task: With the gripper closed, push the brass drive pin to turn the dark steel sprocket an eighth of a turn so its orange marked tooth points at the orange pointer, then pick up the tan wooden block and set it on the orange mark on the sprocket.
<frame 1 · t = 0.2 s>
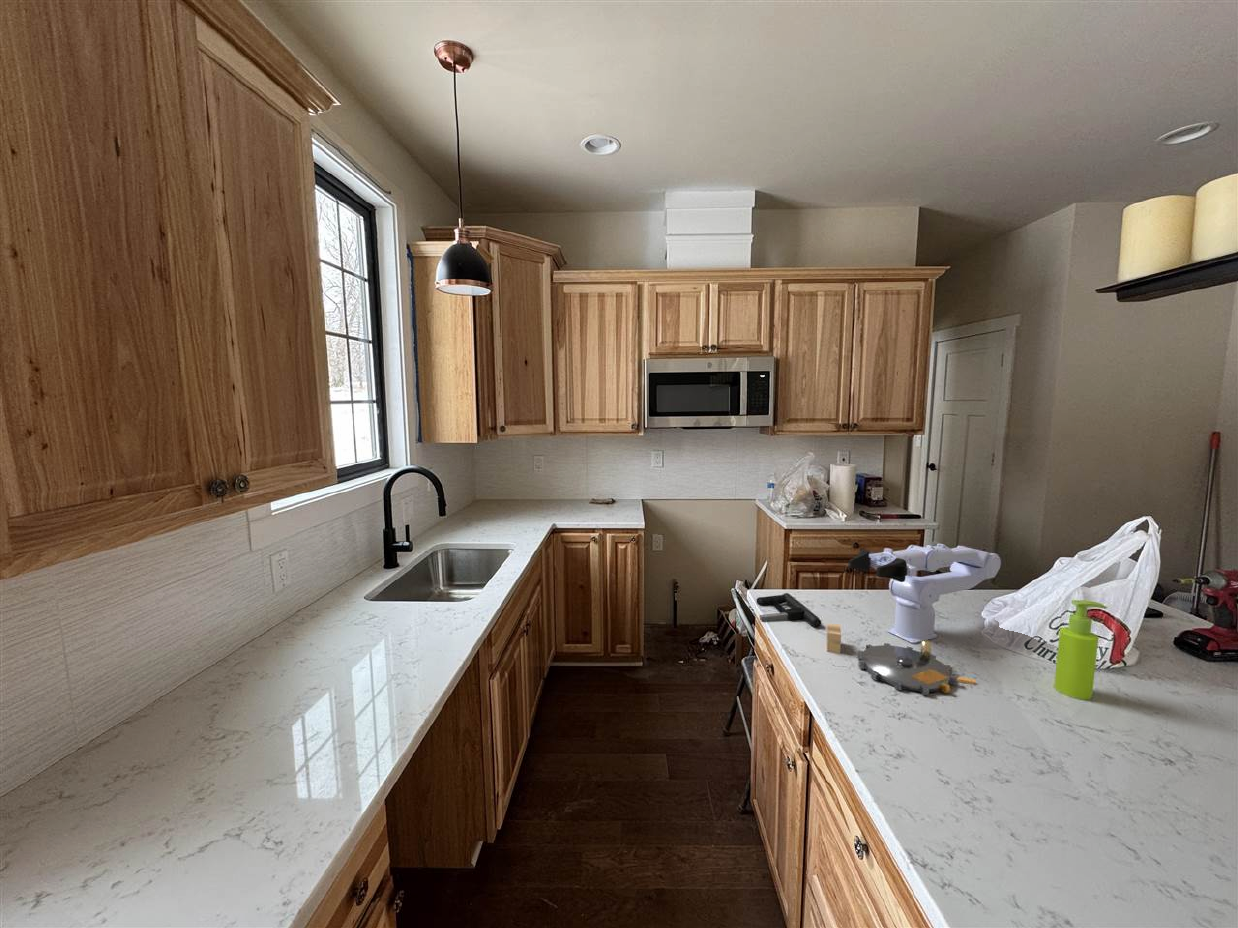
hand: (863, 568, 119), 21 cm above the countertop, tool horizontal, fingers open, 7 cm apart
submachine gun: (782, 616, 143), on the countertop
sprocket: (905, 658, 111), point 3 cm above the countertop, hinge at 0.0°
timing pointer: (966, 681, 107), on the countertop
soap dispenser: (1075, 692, 103), on the countertop
tan wooden block: (833, 647, 123), on the countertop
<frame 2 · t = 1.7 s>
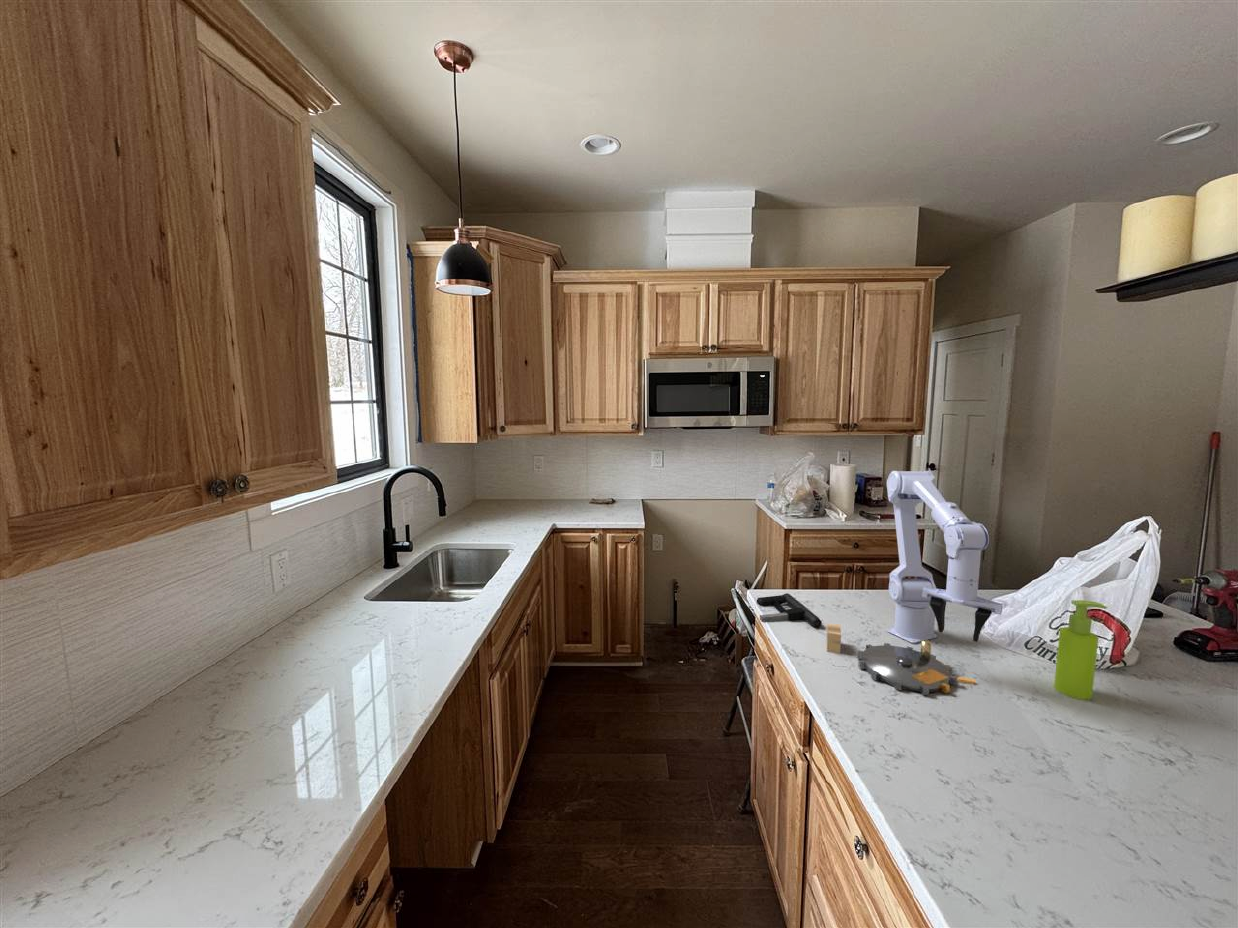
hand: (958, 635, 109), 9 cm above the countertop, tool pointing down, fingers open, 6 cm apart
nothing on the countertop moved.
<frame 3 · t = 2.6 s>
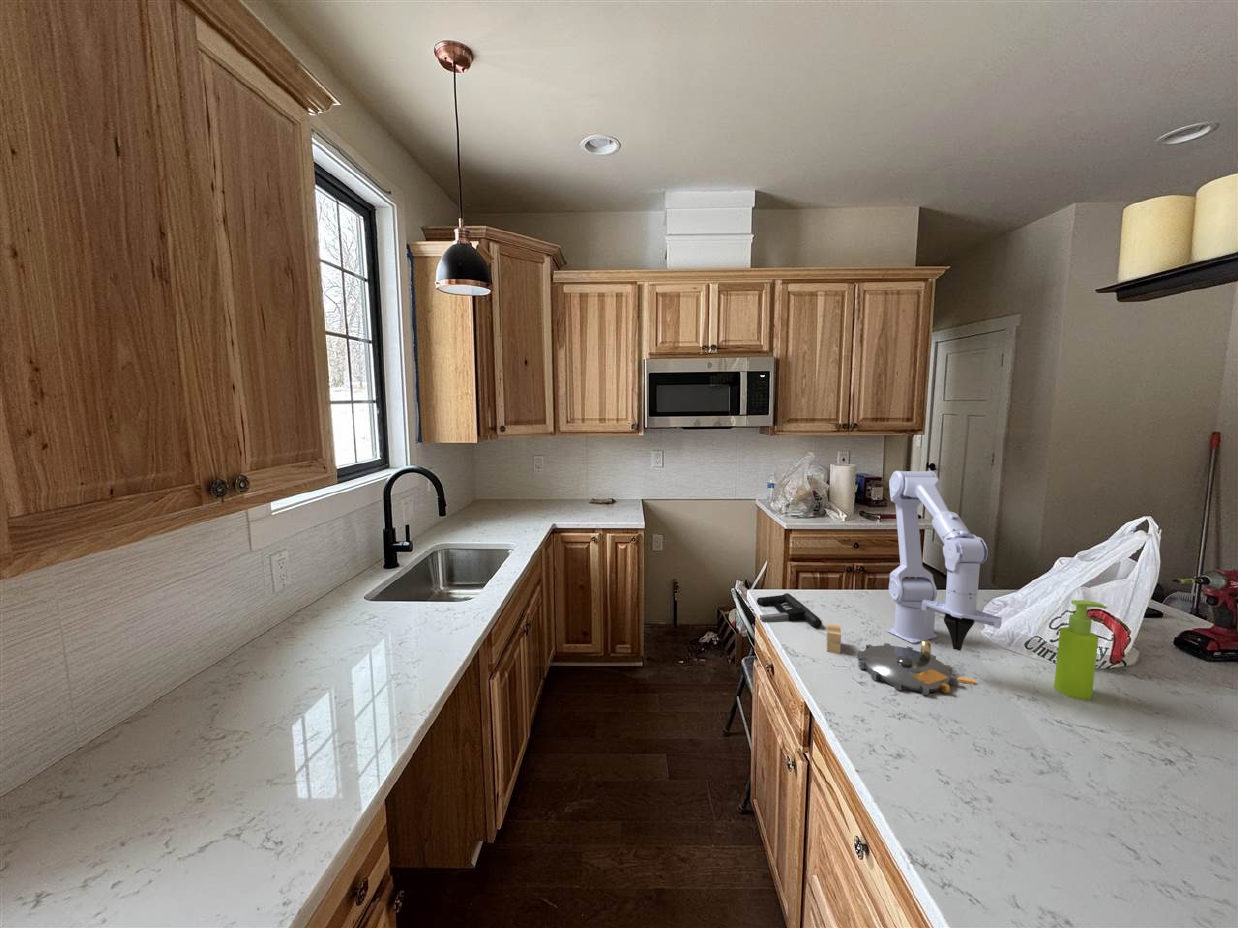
hand: (957, 648, 109), 6 cm above the countertop, tool pointing down, fingers closed
nothing on the countertop moved.
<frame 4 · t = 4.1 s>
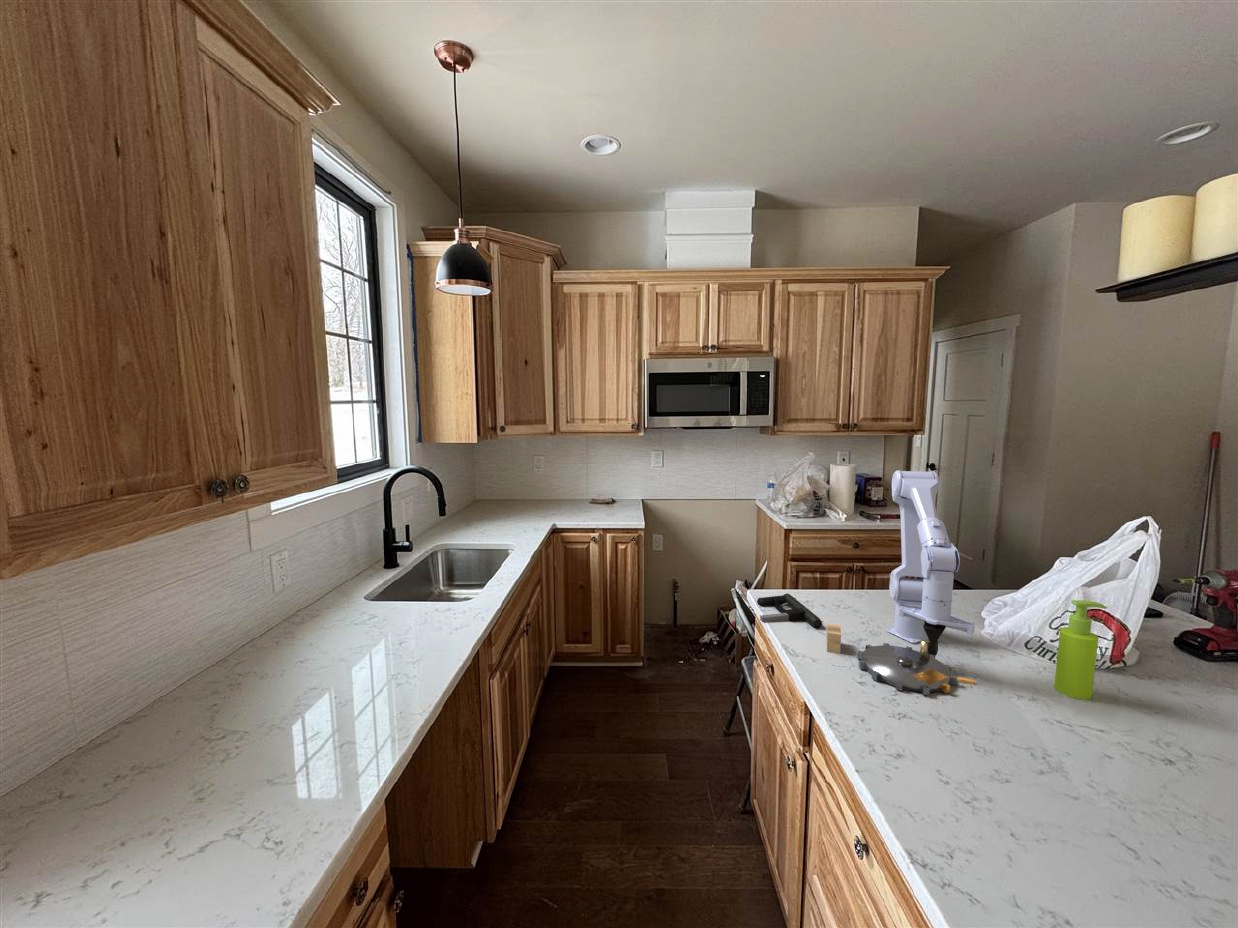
hand: (933, 653, 113), 3 cm above the countertop, tool pointing down, fingers closed, pressing on sprocket
sprocket: (905, 658, 111), point 3 cm above the countertop, hinge at 0.9°, touching gripper
everything else where it was.
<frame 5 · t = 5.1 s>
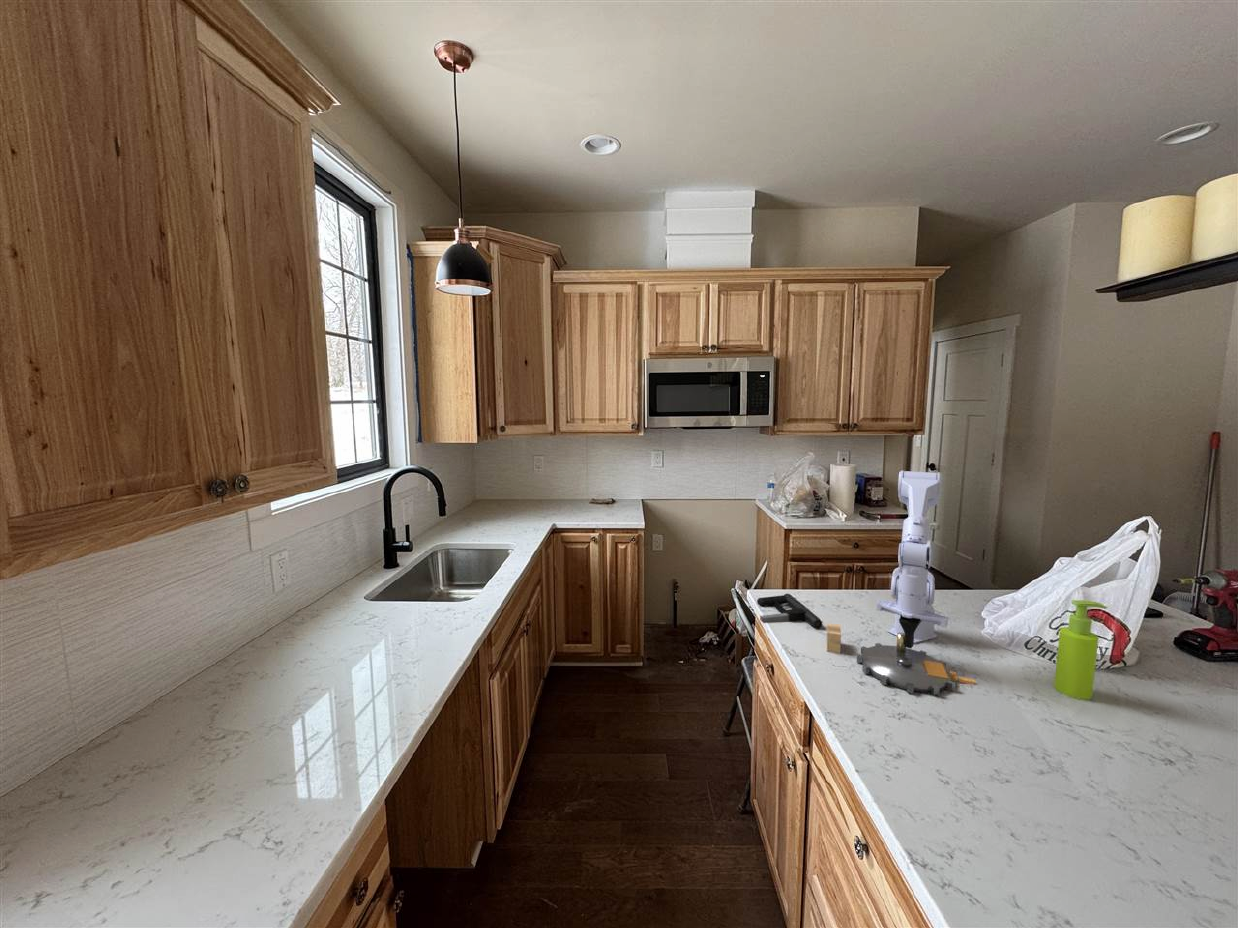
hand: (908, 646, 117), 3 cm above the countertop, tool pointing down, fingers closed, pressing on sprocket
sprocket: (905, 658, 111), point 3 cm above the countertop, hinge at 43.1°, touching gripper
everything else where it was.
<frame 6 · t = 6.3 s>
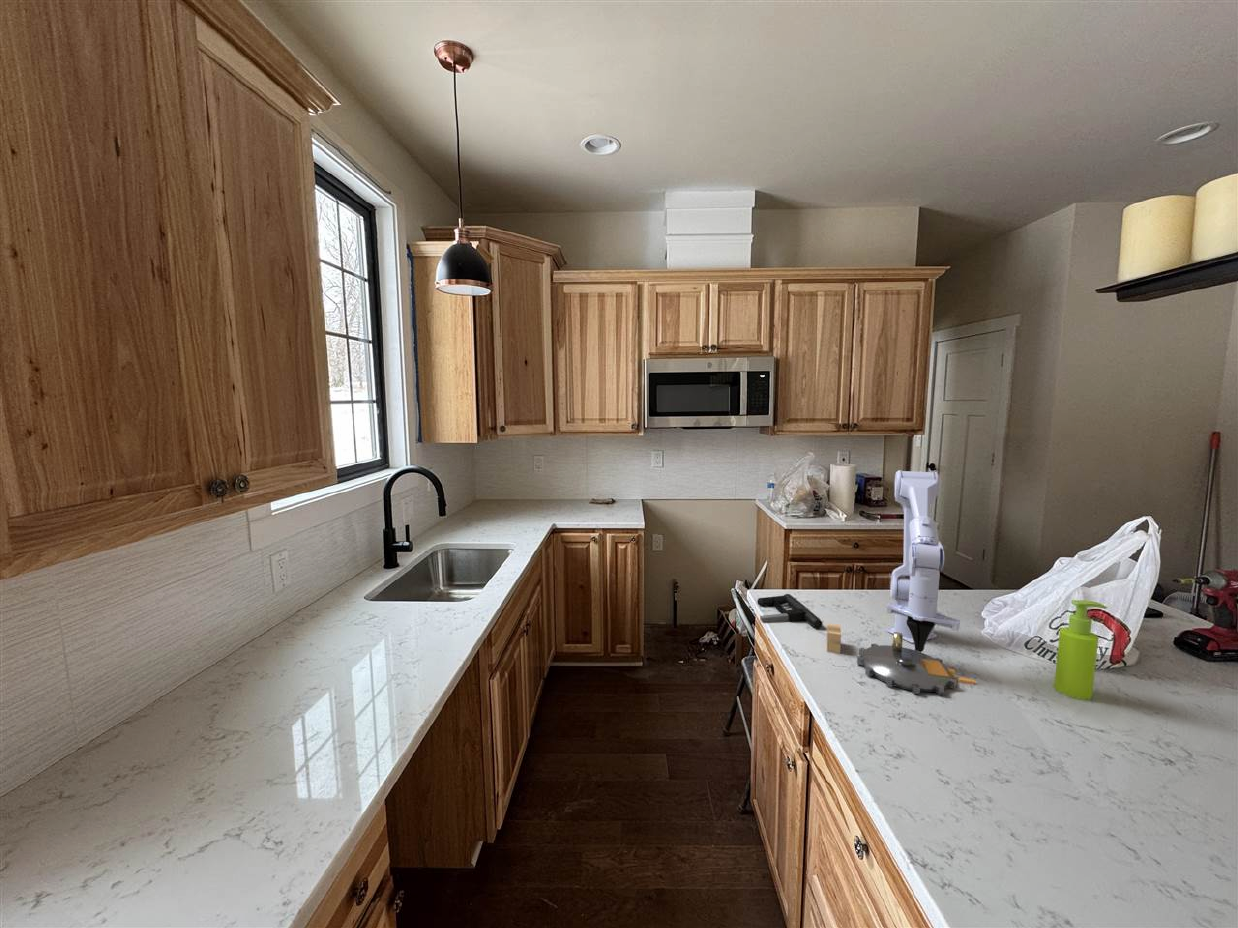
hand: (919, 649, 115), 3 cm above the countertop, tool pointing down, fingers closed
sprocket: (905, 658, 111), point 3 cm above the countertop, hinge at 49.8°
everything else where it was.
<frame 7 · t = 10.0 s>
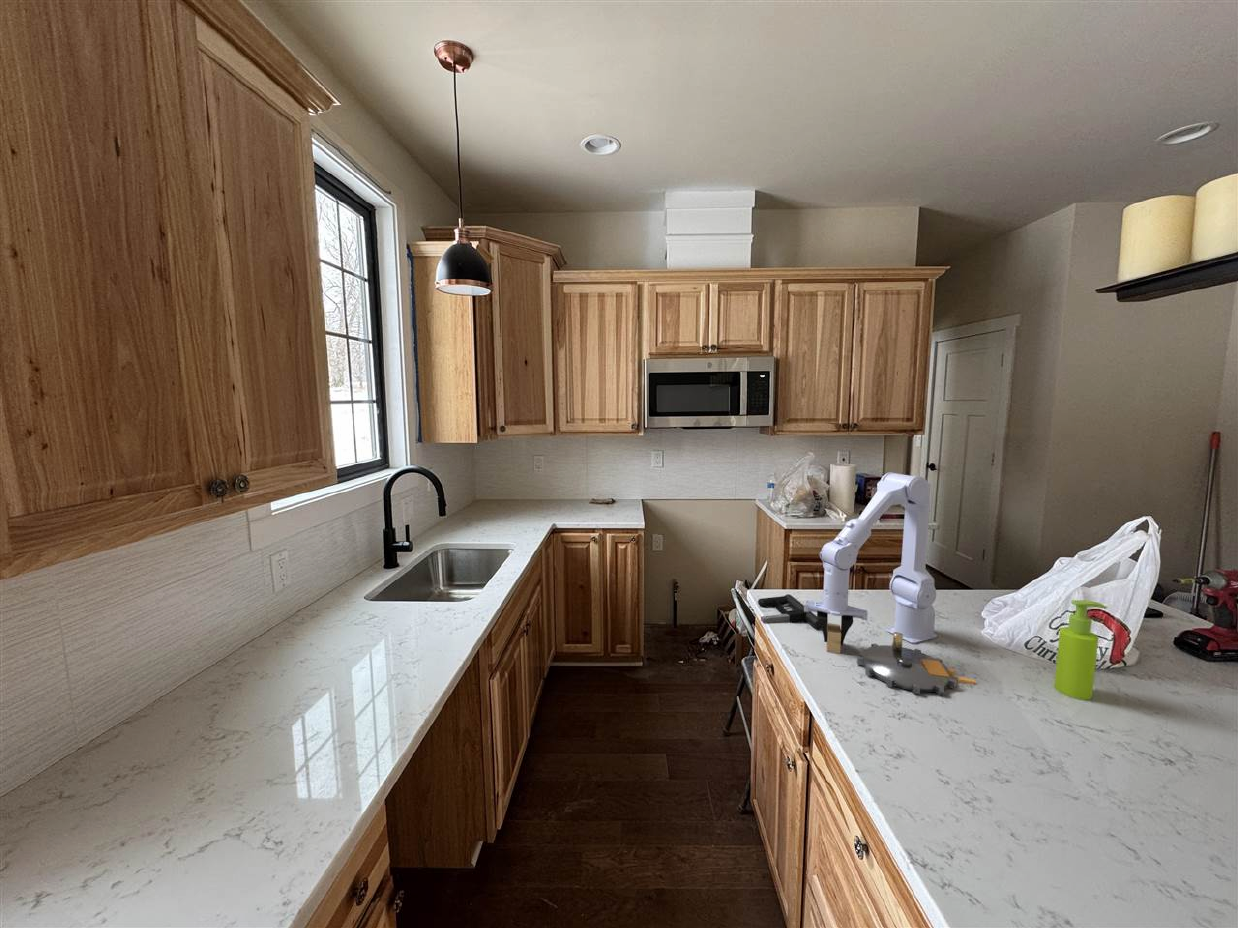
hand: (833, 641, 123), 1 cm above the countertop, tool pointing down, fingers closed on tan wooden block, 3 cm apart
tan wooden block: (833, 647, 123), on the countertop, touching gripper
when the fingers open (4 cm above the countertop, at t = 13.5 s): tan wooden block stays where it is, resting on sprocket.
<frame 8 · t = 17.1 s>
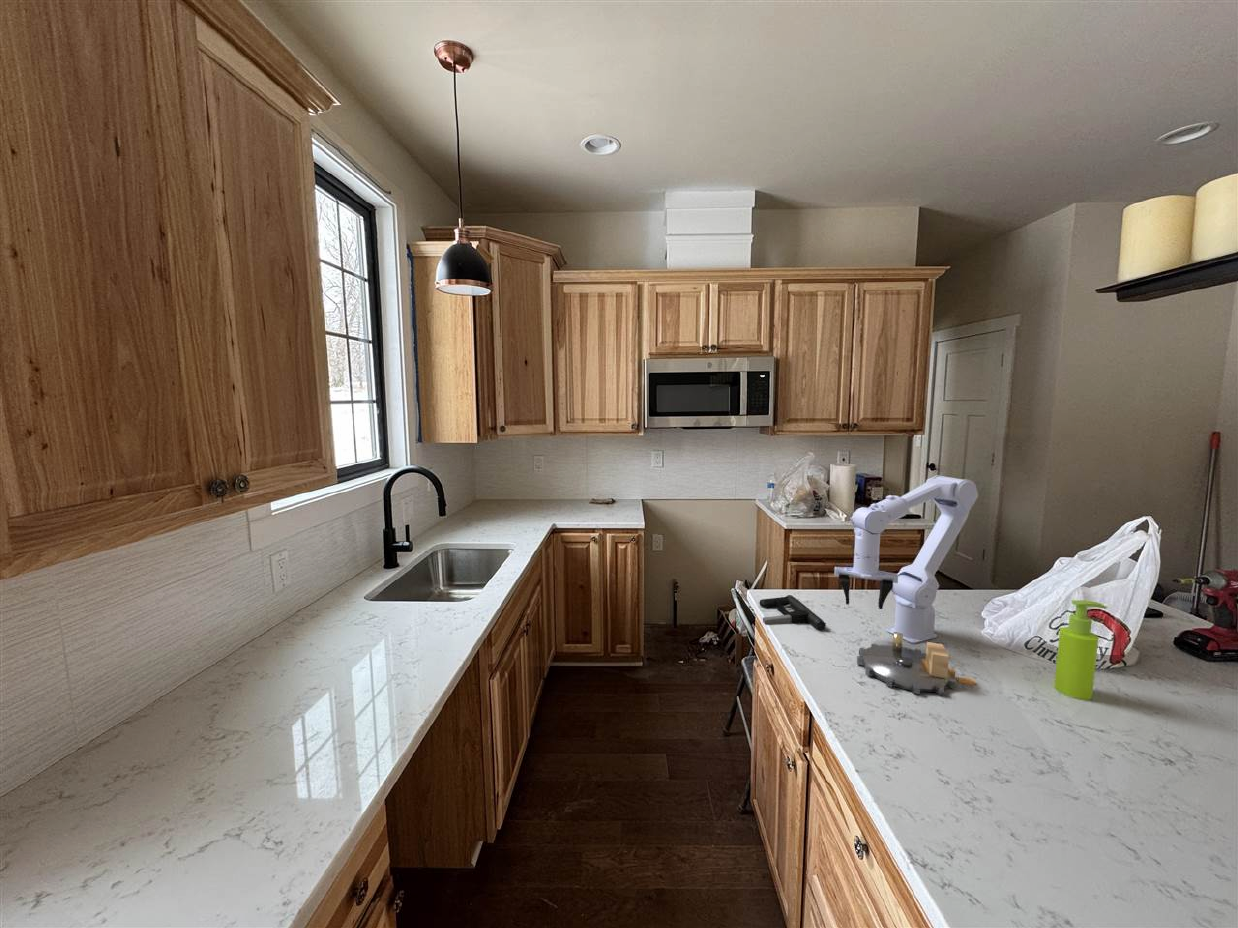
hand: (863, 605, 126), 9 cm above the countertop, tool pointing down, fingers open, 7 cm apart
sprocket: (905, 658, 111), point 3 cm above the countertop, hinge at 49.8°, touching tan wooden block
tan wooden block: (936, 670, 109), point 2 cm above the countertop, touching sprocket
at the end: sprocket at +50° (first picture: +0°); tan wooden block 0.8 cm from the target spot on the sprocket, point 1.9 cm above the sprocket's base; tan wooden block tilted 0° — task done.
